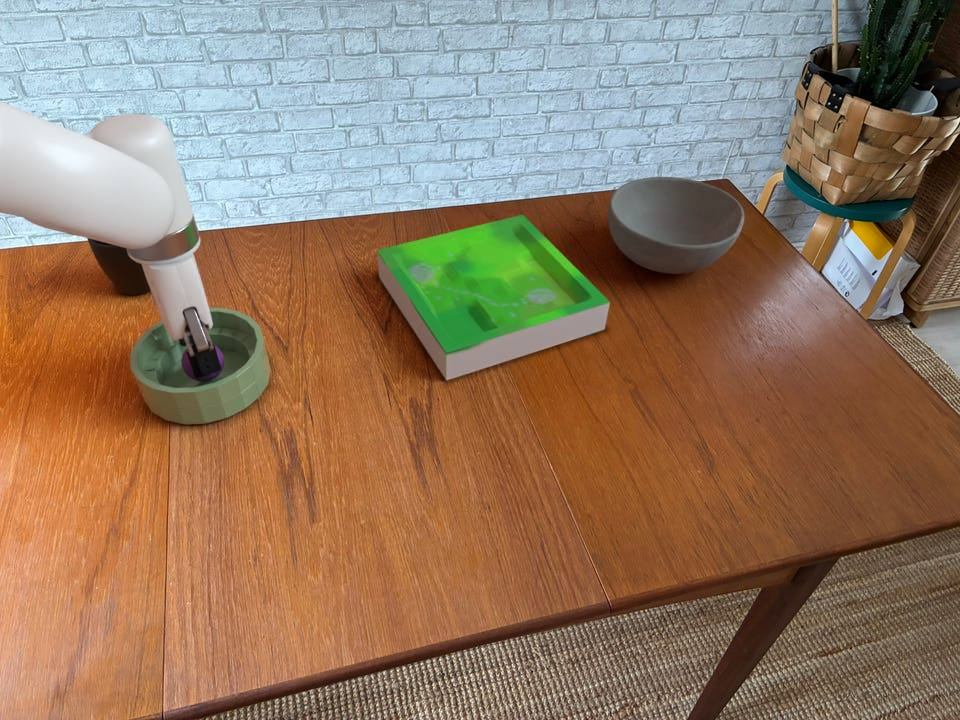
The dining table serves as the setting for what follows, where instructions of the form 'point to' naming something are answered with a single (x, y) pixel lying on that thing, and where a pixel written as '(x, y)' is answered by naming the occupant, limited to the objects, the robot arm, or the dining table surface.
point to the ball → (189, 372)
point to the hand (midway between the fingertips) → (200, 356)
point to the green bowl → (198, 400)
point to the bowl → (673, 223)
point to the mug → (120, 268)
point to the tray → (489, 294)
